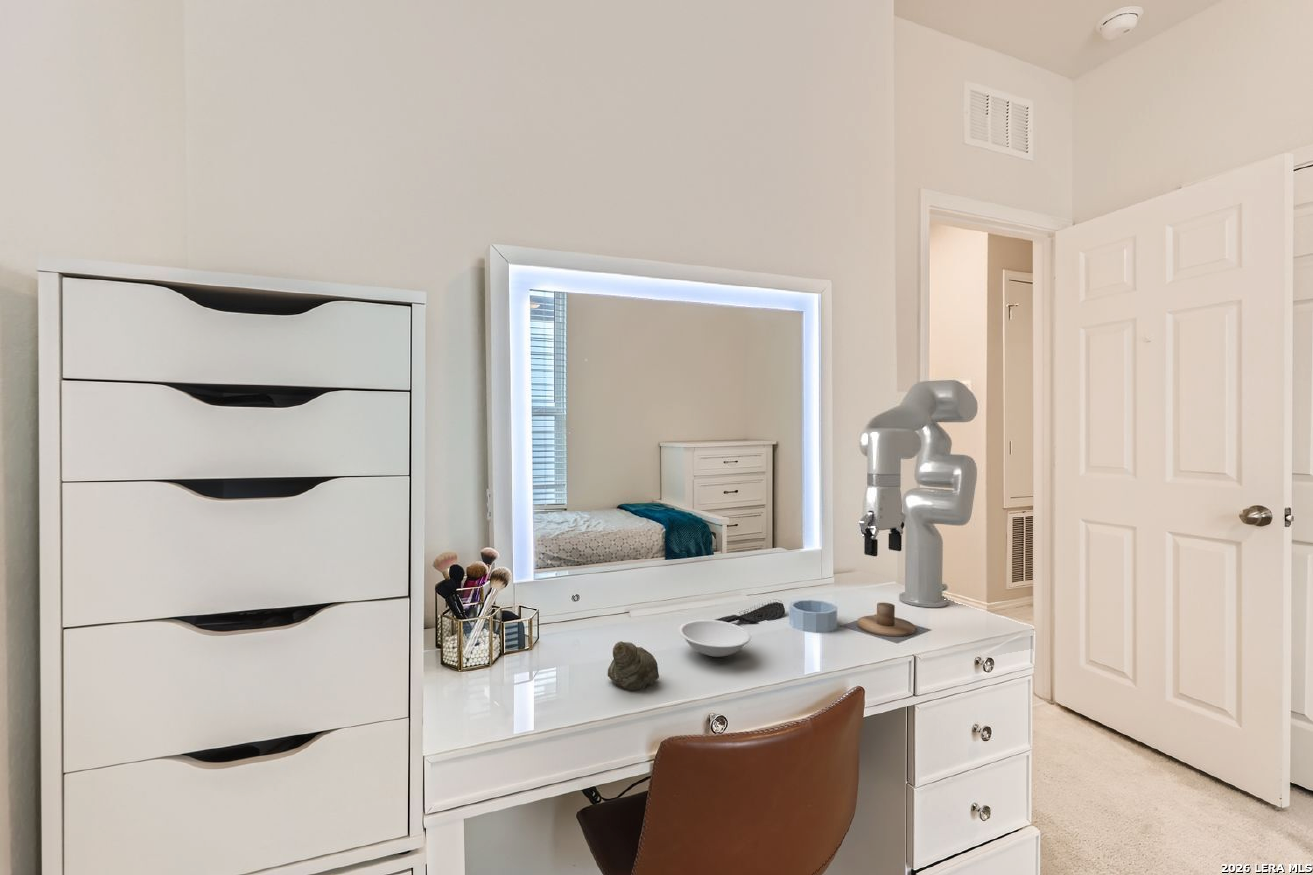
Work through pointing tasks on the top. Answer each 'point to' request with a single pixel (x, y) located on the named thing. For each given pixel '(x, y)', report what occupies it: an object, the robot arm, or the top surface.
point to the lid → (886, 623)
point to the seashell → (632, 666)
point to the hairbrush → (758, 614)
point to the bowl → (813, 616)
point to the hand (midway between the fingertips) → (883, 552)
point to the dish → (714, 637)
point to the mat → (918, 631)
